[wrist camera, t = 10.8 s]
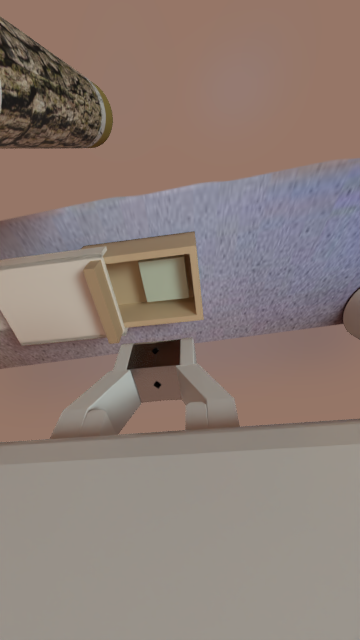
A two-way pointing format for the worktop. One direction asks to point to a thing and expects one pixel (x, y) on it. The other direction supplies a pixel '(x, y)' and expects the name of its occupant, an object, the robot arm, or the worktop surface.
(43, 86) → the bark textured cylinder
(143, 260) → the tan open box
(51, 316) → the lid
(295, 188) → the worktop surface
